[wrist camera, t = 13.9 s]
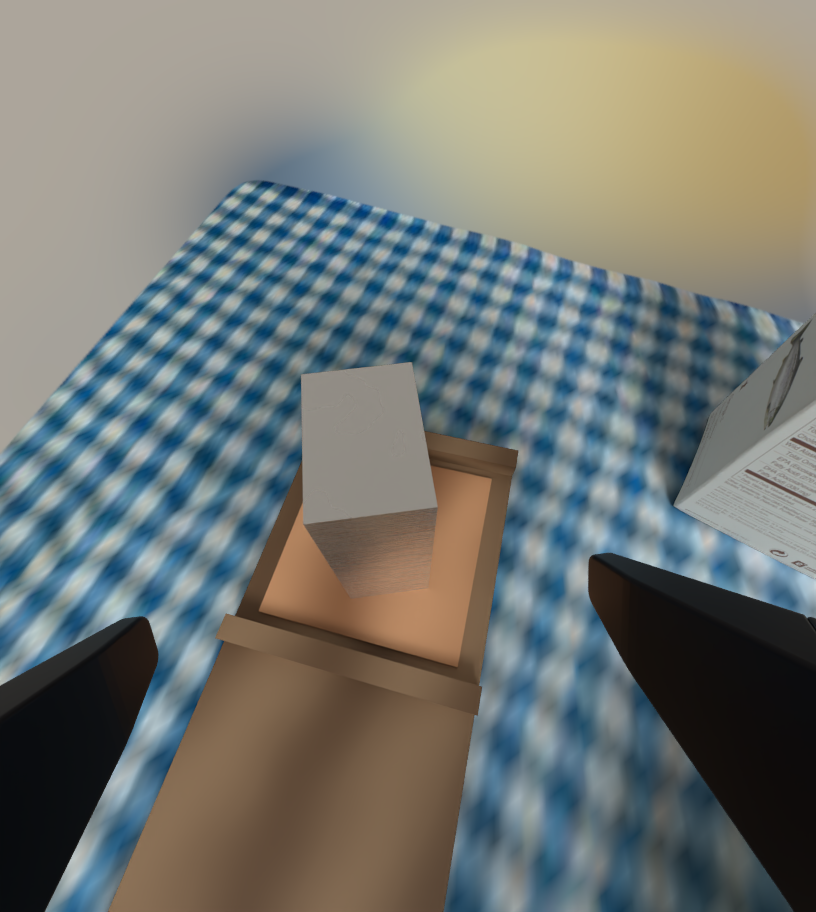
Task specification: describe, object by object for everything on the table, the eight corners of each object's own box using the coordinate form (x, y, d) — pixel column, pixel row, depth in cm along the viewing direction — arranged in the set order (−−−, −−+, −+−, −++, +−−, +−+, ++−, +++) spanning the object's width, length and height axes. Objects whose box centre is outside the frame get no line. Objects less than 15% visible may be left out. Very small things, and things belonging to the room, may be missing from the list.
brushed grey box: (428, 588, 20) (437, 506, 11) (350, 598, 19) (303, 524, 11) (413, 488, 22) (411, 362, 14) (344, 497, 22) (301, 374, 14)
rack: (510, 470, 24) (518, 450, 22) (254, 2059, 8) (203, 2492, 6) (324, 430, 25) (316, 408, 24) (-208, 1700, 9) (-366, 1953, 8)
